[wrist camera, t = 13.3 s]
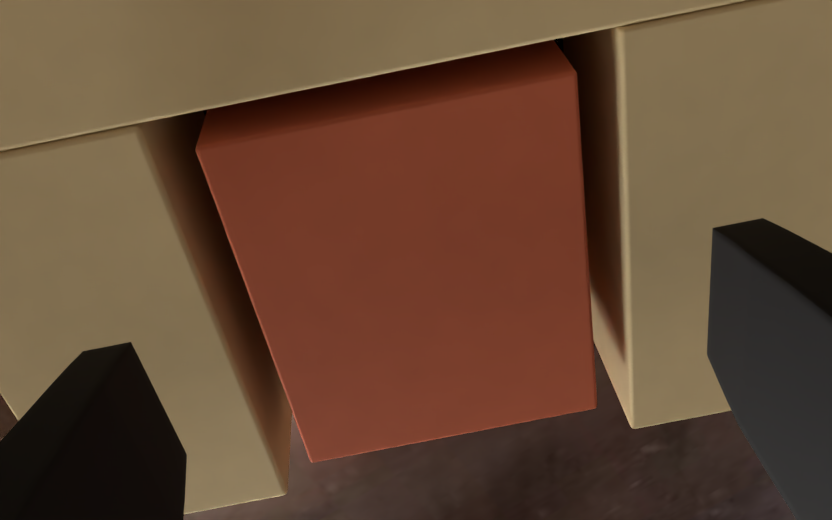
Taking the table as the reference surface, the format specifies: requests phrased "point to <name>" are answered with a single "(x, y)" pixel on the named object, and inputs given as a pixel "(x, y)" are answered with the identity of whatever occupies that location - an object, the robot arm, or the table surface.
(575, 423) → the table surface
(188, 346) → the notched tile
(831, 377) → the robot arm
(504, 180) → the small block
